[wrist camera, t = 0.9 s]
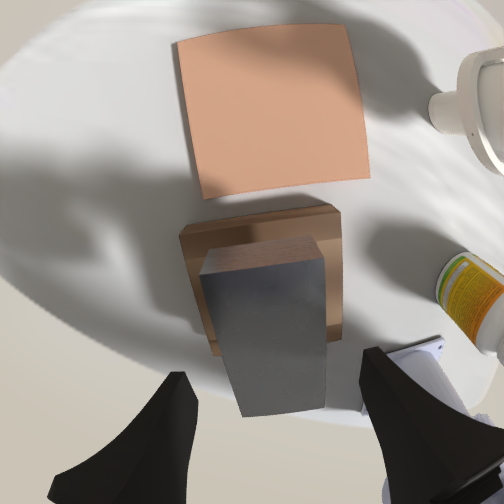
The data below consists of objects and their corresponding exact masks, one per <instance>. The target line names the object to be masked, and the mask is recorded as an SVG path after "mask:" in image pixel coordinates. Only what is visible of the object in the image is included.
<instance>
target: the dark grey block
mask: <svg viewBox="0 0 504 504" xmlns="http://www.w3.org/2000/svg"><path fill="white" fill-rule="evenodd" d="M199 277H200V281H201V285H202V289H203V292H204V296H205V300H206V303H207V307H208V311H209V314H210V318H211V321H212V324H213V328H214V331H215V335H216V338H217V341H218V345H219V348H220V351H221V354H222V358H223V361H224V364H225V367H226V370H227V373H228V376H229V379H230V382H231V385H232V388H233V391H234V394H235V397H236V400H237V403H238V406H239V409H240V412H241V415H242V417H255V416H267V415H277V414H285V413H293V412H300V411H307V410H313V409H319V408H324V404H325V382H326V281H325V259H324V256H323V254H322V253H321V251H320V249H319V247H318V246H317V244H316V242H315V241H314V239H313V237H312V235H307V236H300V237H293V238H286V239H278V240H271V241H264V242H257V243H250V244H243V245H236V246H229V247H222V248H215V249H209V251H208V254H207V256H206V259H205V261H204V263H203V266H202V268H201V271H200V273H199Z"/></svg>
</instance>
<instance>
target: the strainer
mask: <svg viewBox="0 0 504 504" xmlns="http://www.w3.org/2000/svg"><path fill="white" fill-rule="evenodd" d="M428 112H429V117H430V120H431V122H432V124H433V125H434V127H435V128H436V129H437V130H438V131H439V132H440V133H442V134H445V135H460V136H467V138H468V141H469V143H470V145H471V147H472V149H473V151H474V153H475V154H476V156H477V158H478V159H479V160H480V162H481V163H482V164H483V165H484V166H485V167H486V168H487V169H488V170H489V171H491V172H492V173H494V174H497V175H501V176H504V165H503V164H502V163H501V162H504V46H502V47H497V48H492V49H488V50H484V51H480V52H475V53H472V54H469V55H468V56H467V57H465V59H464V60H463V61H462V63H461V65H460V68H459V71H458V77H457V91H450V92H443V93H437V94H434V95H433V96H432V97H431V99H430V101H429V105H428Z"/></svg>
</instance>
